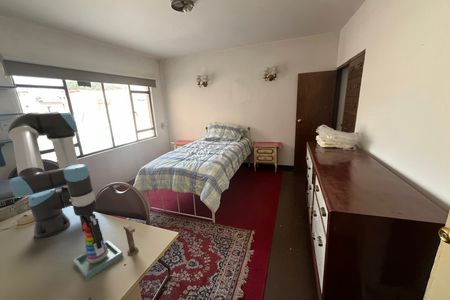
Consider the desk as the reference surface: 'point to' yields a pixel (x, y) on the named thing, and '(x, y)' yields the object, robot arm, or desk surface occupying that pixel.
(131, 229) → the tan tall figure
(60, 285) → the desk surface
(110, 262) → the tray
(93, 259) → the stacking toy
